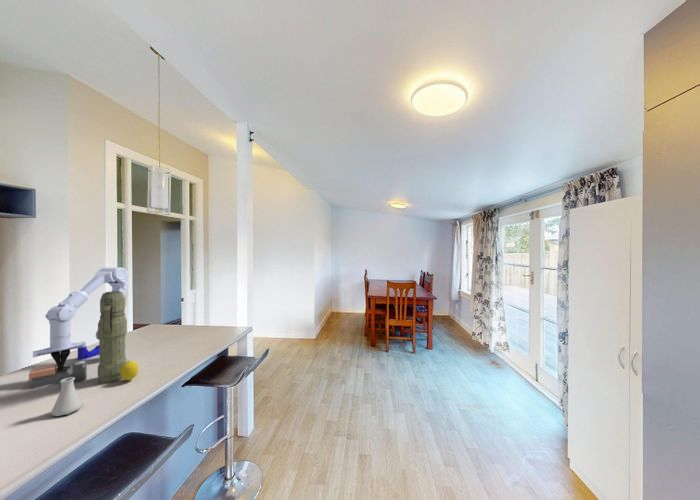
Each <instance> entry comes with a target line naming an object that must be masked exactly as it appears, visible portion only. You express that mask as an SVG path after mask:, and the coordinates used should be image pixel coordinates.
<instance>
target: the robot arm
mask: <svg viewBox="0 0 700 500" xmlns="http://www.w3.org/2000/svg"><path fill="white" fill-rule="evenodd" d="M128 276H129V272H128V271H127V270H126V268H124V267H108V266H107V267H106V266H105V267H101V268H99V270H97V271H96V272H95V274H94V276H93V277H92V278H91V279H90V280H89V281H88V282H87V283H86V284H85V285H84V286H83V287H82V288H81V289H80V290H79V291H78V290H77V291H73V292H70V293H68V296H67V297H66V298H64V299H63V300H62V301H59V303H58V304H57V305H55V306H52V307H51V308H49V310H48V311H47V313H46V314H45V319H46V320H48V323H49V347H46V348H42V349H39V350H34V351H32V358H33V359H34V358H37V357H41V356H46V355H50V356H51V358H52V359H53V360H54V362H55V364H57V368H58V371H59V370H63V367H64V366H65V364H66V361H67V360H68V357H69V356H70V354H71V350H75V349H78V348H81V347H82V348H83V347H87V343H86V341H80V342H73V343H71V342H72V339H71V338H72V331H71V329H72V328H71V325H72V322H71V319H73V318H74V317H75V315H76V312H77V311H78V309H79V308H80V307H81V306H82V305H83V304H84V303H86V302H88V300H89V298H88V296H89V295H91V293H93V292H94V291H95V290H96V289H98V288H99V287H100V286H102V285H103V284H105V283H106V284H108V285H109V286H111V288H112V289H111V291H120V292H123V295H124V297H125V298H126V293H127V289H128V286H129V285H128V284H129V283H128ZM95 337H96V339H97V340H98V342H99V343H100V339H99V338H98V329H97V330H96V332H95ZM126 342H127V341H126V338H125V357H126V355H127V348H126V345H127V344H126ZM126 358H127V357H126ZM99 363H100V357H99V360H98V364H99Z"/></svg>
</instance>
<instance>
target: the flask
mask: <svg viewBox="0 0 700 500" xmlns="http://www.w3.org/2000/svg"><path fill="white" fill-rule="evenodd" d="M74 380H75V378H74V377H70V378H66V379H63V380H61V381H60V383H59V384H61V385H60V386H61V388H60V392H59V394H58V397H57V398H56V400H55V403H54V405H53V407H52V410H51V411H50V414H49V415H50V416H54V417H59V416H63V415H70V414H71V413H74V412H76V411H78V410H80V409H81V408H82V407H83V406H84V405H85V402H83V400H82V399H81V397H80V396H79V394H78V392H77V389H76V387H75V384H74Z"/></svg>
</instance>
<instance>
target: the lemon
mask: <svg viewBox="0 0 700 500" xmlns="http://www.w3.org/2000/svg"><path fill="white" fill-rule="evenodd" d="M138 373H139V365H138V363H137V362H136V361H133V360H127V362H126V363H125V364H124V365H123V366H122V368H121V371H120V374H121V377H122V378H123V379H122V380H126V381H127V382H128V381H129V382H130V381H132V379H134V378H135V377H136V376H137V375H138Z"/></svg>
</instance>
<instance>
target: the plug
mask: <svg viewBox="0 0 700 500" xmlns="http://www.w3.org/2000/svg"><path fill="white" fill-rule="evenodd" d="M71 366H72V377H74V378H75V380H74V383H75V384H76V383H83V382H84V381H86V380H87V379H88V378H87V377H88V373H87V369H88V368H87V367H88V364H87V361H84V360H80V361H76V362H74V364H72V365H71Z"/></svg>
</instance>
